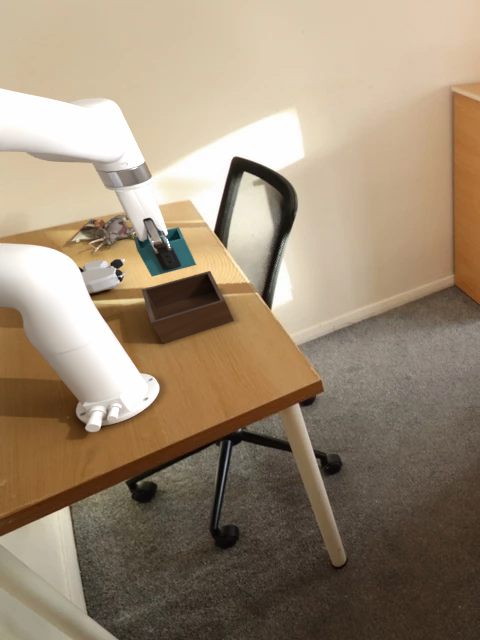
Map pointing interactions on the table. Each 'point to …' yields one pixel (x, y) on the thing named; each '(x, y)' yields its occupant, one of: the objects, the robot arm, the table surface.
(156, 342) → the table surface
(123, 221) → the figurine
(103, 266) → the robot toy
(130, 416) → the robot arm
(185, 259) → the box
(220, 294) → the crate
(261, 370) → the table surface
